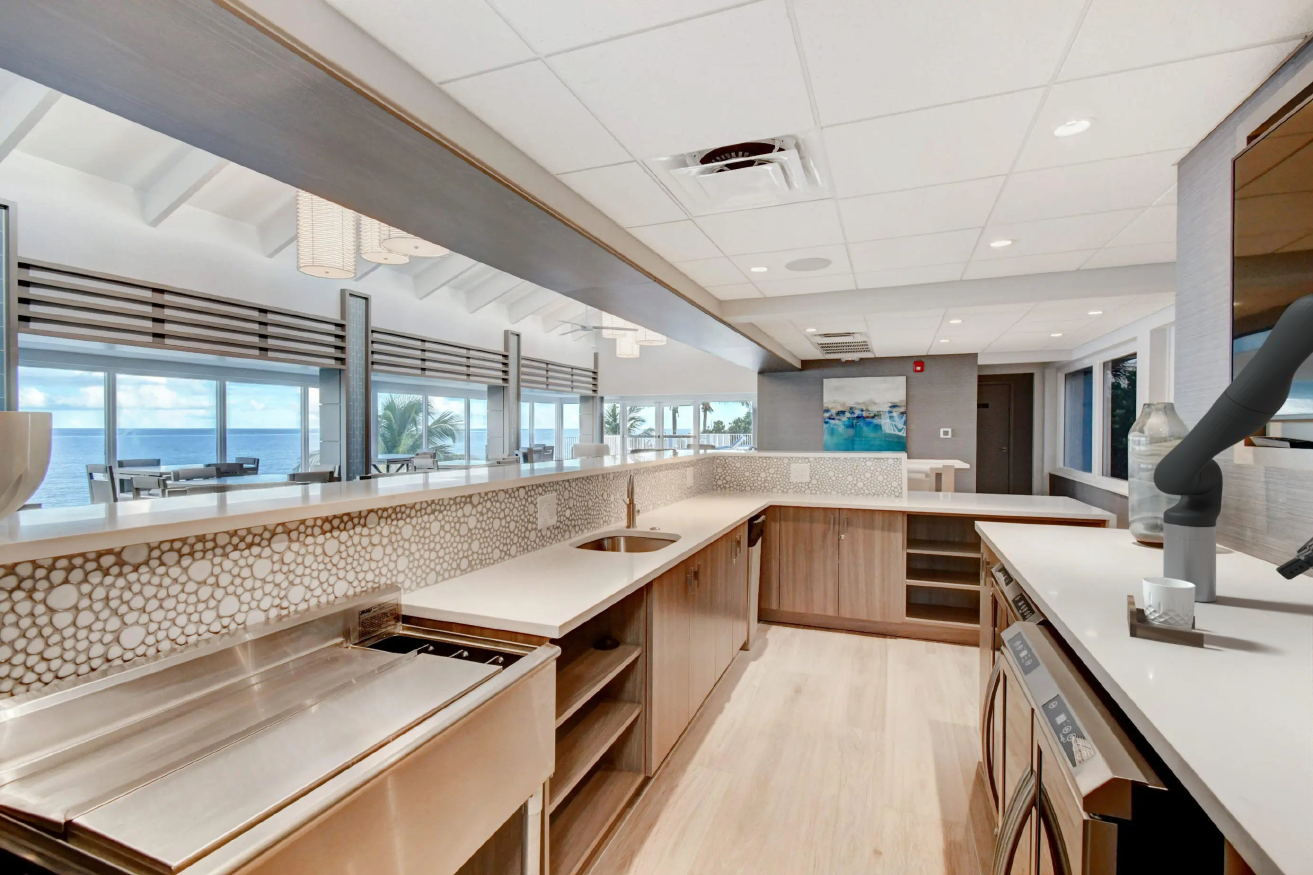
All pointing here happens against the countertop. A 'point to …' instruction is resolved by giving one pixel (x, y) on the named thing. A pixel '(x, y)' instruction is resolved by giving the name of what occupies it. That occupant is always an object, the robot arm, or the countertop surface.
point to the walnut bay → (1159, 629)
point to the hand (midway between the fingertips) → (1281, 574)
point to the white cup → (1168, 602)
